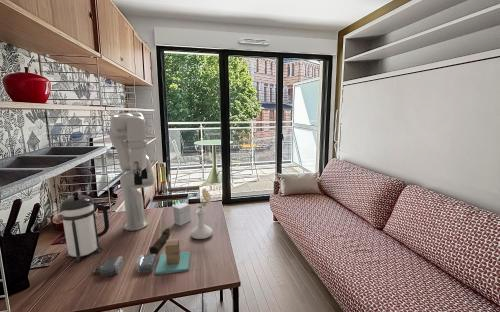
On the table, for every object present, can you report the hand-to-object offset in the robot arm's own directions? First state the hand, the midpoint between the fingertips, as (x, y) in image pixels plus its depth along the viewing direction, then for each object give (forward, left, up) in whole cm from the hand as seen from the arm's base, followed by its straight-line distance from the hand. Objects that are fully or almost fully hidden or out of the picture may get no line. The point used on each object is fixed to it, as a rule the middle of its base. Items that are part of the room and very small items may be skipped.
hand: (141, 181), depth 116 cm
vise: (+15, -6, -33) cm, 37 cm away
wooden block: (+15, +14, -32) cm, 38 cm away
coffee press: (-2, -28, -34) cm, 44 cm away
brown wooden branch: (-3, +6, -34) cm, 34 cm away
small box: (-26, +14, -34) cm, 45 cm away
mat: (+15, +14, -33) cm, 39 cm away
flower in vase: (-8, +26, -34) cm, 43 cm away
